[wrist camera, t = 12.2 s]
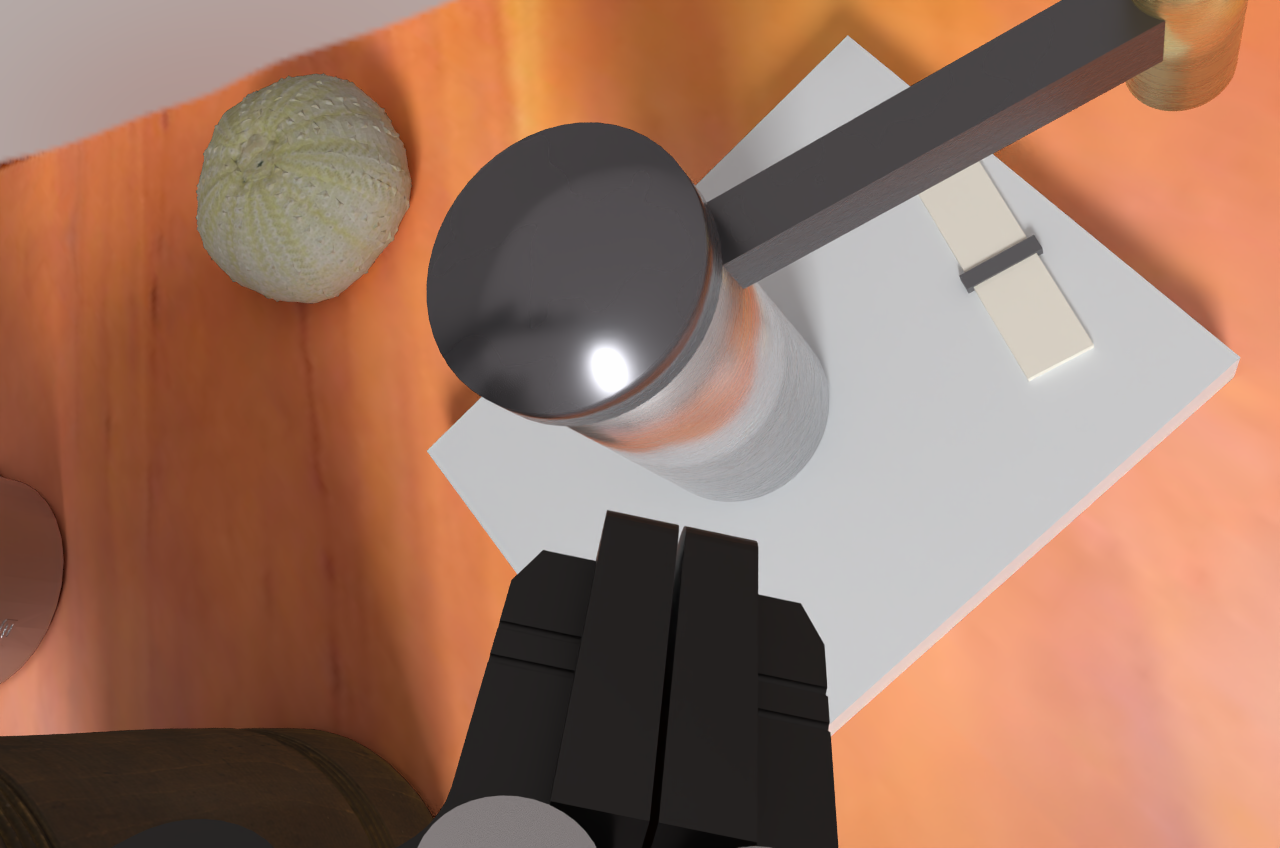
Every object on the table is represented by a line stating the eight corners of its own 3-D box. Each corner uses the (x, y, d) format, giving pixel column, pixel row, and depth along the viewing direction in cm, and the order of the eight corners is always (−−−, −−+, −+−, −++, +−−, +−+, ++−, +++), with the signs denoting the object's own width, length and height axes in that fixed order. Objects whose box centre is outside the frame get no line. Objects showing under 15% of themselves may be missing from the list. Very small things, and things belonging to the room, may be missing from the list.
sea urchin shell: (378, 27, 46) (305, 74, 39) (471, 203, 50) (419, 275, 43) (197, 115, 49) (100, 173, 42) (296, 277, 52) (221, 355, 45)
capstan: (681, 547, 36) (478, 466, 24) (608, 366, 38) (393, 218, 27) (1275, 256, 31) (1361, -8, 20) (1150, 72, 34) (1164, -255, 22)
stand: (456, 462, 42) (420, 448, 40) (860, 66, 40) (845, 28, 38) (728, 827, 36) (703, 834, 34) (1233, 376, 33) (1241, 353, 31)
